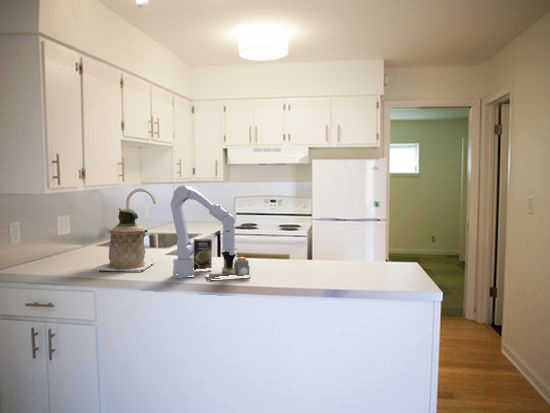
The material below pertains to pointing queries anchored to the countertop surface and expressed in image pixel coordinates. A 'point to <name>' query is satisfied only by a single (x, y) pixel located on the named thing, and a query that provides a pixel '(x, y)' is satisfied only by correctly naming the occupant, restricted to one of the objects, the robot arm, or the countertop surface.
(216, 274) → the rail
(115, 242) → the cookie jar
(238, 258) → the button
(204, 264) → the coffee box
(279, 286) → the countertop surface
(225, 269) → the carriage
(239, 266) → the blue-grey jar
